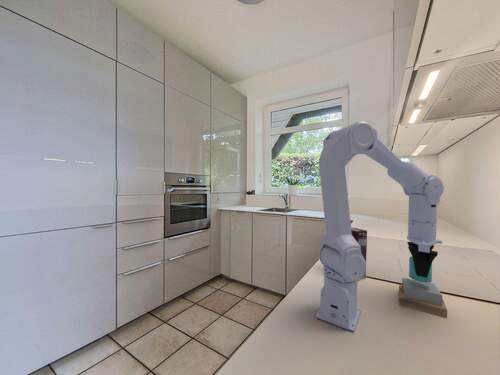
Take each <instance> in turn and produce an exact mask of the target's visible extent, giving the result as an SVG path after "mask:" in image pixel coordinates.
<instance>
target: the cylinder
mask: <svg viewBox="0 0 500 375" xmlns="http://www.w3.org/2000/svg"><path fill="white" fill-rule="evenodd" d="M408 262H409V263H408V265H409V267H408V276H409V277H408V278H409V279H413V280H416V281H420V282H426V283H432V282H433V281H432V280H433V278H432V276H433V263H432V264H431V267H430V270H429V274H428V276H427V278H425V277H420V276H417V275H416V272H415V267H414V261H413V257H412V256H410V257H409V261H408Z"/></svg>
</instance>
